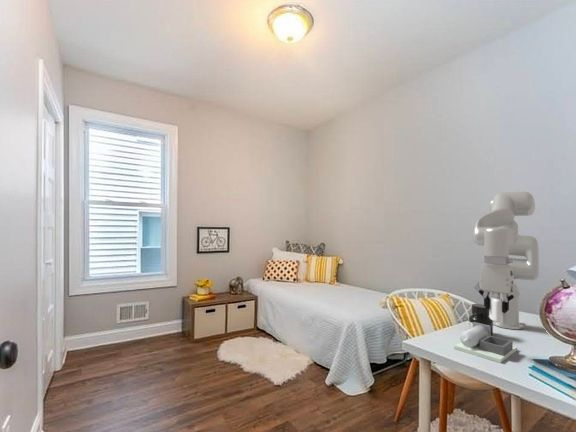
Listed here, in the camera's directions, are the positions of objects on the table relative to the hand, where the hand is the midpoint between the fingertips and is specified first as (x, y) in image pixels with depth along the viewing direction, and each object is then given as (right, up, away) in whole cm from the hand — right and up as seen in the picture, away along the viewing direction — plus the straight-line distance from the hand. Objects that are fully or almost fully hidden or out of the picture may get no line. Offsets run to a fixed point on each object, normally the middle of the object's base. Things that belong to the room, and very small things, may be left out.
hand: (496, 310), depth 116 cm
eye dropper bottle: (0, -4, 0) cm, 4 cm away
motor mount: (-2, -16, +2) cm, 16 cm away
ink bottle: (+6, -16, +20) cm, 27 cm away
